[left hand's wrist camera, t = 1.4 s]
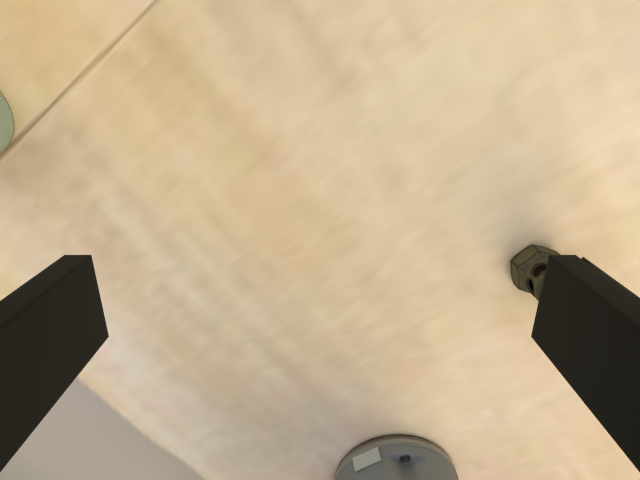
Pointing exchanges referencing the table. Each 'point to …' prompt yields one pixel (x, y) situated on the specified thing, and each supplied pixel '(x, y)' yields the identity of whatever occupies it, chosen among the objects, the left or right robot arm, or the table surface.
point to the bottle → (5, 123)
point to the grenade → (540, 270)
